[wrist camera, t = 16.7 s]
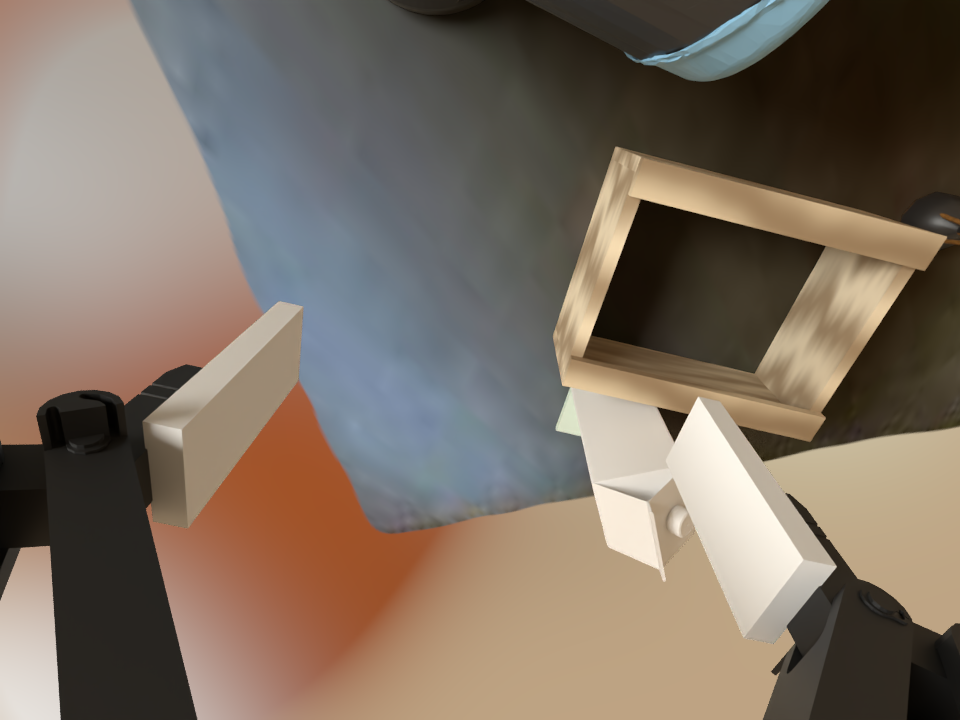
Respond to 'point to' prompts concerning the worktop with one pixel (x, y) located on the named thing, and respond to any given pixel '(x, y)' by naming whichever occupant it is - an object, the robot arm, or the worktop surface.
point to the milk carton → (632, 477)
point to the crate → (804, 333)
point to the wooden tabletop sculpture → (936, 216)
